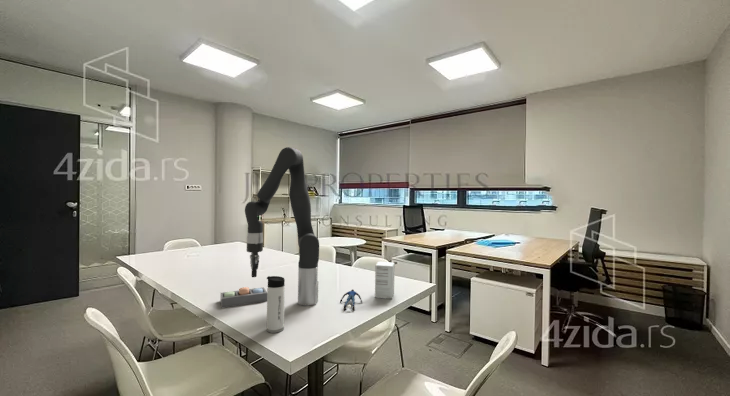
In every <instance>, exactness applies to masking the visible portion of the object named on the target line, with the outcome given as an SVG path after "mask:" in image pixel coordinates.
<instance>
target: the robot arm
mask: <svg viewBox="0 0 730 396" xmlns="http://www.w3.org/2000/svg"><path fill="white" fill-rule="evenodd" d="M302 153H303V152H301V151H300V149H298V148H295V147H290V146H289V147H288V146H287V147H286V146H285V147H284V148H282V149H281V150H280V151H279V153H278V155H277V157H276V160H275V161H274V164H273V166H272V168H271V171H270V173H269V175H268V176H267V178H266V179H265V181H264V183H263V184H262V186H261V187H260V189H258V191H257V199H258V200H257V201H253V200H252V201H249V202H247V203H246V205H245V207H244V214H245V218H246V222H247V235H246V252H247V253H251V254H250V255H249V259H250V269H251V278H256V277H257V274H258V273H257V272H258V269H259V264H260V255H259V253H261V252H263V251H264V250H263V249H264V233H263V232H264V231H263V230H264V224H263V221H262V220H259V216H263V215H264V214H266V212H267V211H268V208H269V206H270V204H271V200H272V199H273V197H274V196H275V194H276V193H277V192H278V190H279V188H280V184H281V182H282V179H283V177H284V176H285V174H286V173H287V172H289V176H290V184H289V185H290V186H289V190H288V191H289V192H288V193H289V194H288V195H289V196H288V197H289V201H290V207H291V210H292V214H293V218H294V221H295V226H296V231H297V242H298V244H297V245H298V247H299V257H298V270H297V271H298V272H297V305H300V306H312V305H314V306H315V305H317V303H318V301H319V281H318V278H319V277H318V276H319V274H318V273H319V272H318V271H319V268H318V267H319V265H318V264H319V259H320V240H319V238H318V237H317V236H316V235H315V232H314V228H313V225H312V206H311V199H310V198H311V197H310V194H309V191H308V190H309V189H308V184H307V180H306V176H305V166H304V165H305V163H304V156H303V154H302Z"/></svg>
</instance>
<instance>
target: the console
mask: <svg viewBox="0 0 730 396" xmlns="http://www.w3.org/2000/svg"><path fill="white" fill-rule="evenodd" d="M261 288H262V289H263V292H260V293H253V289H256V288H249V294H245V295H239V290H232V291H230V292H235V296H229V297H224V293H226V292H227V291H224V292H220V301H219V302H220V306H221V308H224V309H225V308H230V307H235V306H236V307H237V306H243V305H250V304H257V303H263V302H267V290H266V289H265V287H261Z"/></svg>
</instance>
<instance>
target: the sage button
mask: <svg viewBox="0 0 730 396" xmlns="http://www.w3.org/2000/svg"><path fill="white" fill-rule="evenodd" d="M225 292H226V293H224V297H229V296H235V292H231V291H225Z"/></svg>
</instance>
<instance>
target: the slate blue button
mask: <svg viewBox="0 0 730 396" xmlns="http://www.w3.org/2000/svg"><path fill="white" fill-rule="evenodd" d="M262 288H263V287H257V288H256V289H255V288H252V289H253V293H260V292H263V289H262Z"/></svg>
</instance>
